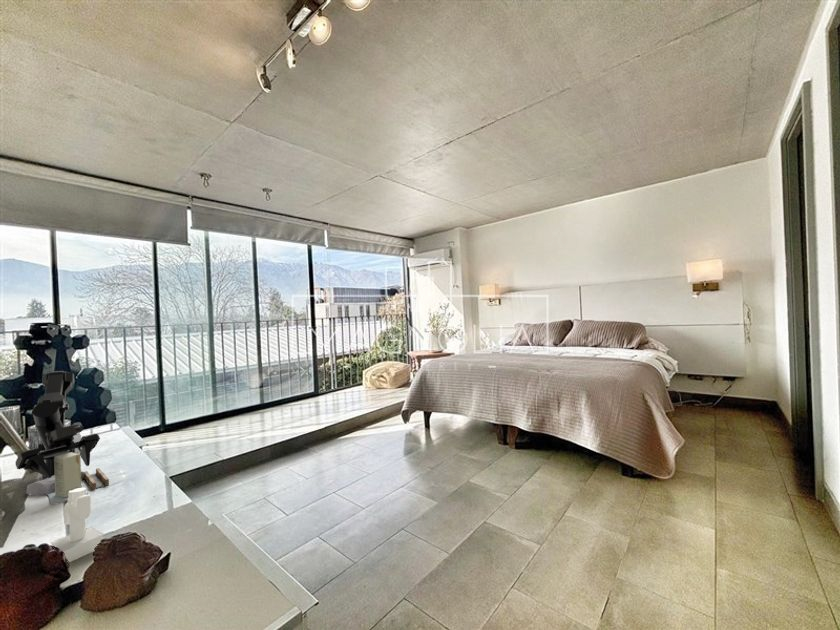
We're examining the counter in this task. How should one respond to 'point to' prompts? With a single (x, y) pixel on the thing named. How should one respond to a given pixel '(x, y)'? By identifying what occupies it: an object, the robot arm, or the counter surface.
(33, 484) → the stone block
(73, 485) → the skincare box
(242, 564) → the counter surface
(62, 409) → the robot arm
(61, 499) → the pad
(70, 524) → the figurine
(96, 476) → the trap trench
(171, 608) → the counter surface
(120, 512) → the counter surface
